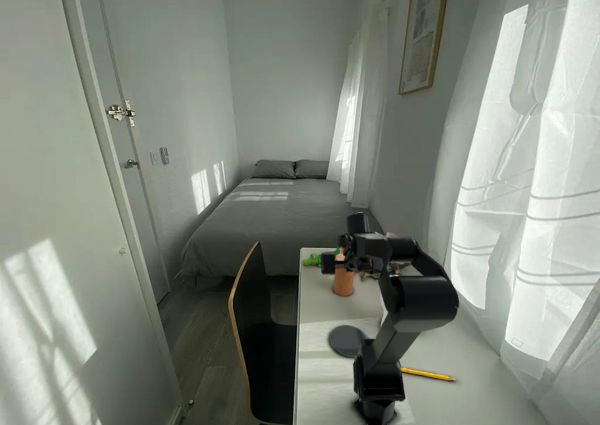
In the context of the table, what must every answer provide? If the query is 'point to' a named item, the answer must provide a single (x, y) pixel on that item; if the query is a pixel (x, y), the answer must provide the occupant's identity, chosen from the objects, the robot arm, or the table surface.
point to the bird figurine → (390, 269)
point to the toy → (317, 258)
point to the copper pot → (343, 279)
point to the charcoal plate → (346, 340)
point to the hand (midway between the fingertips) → (347, 269)
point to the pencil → (426, 374)
